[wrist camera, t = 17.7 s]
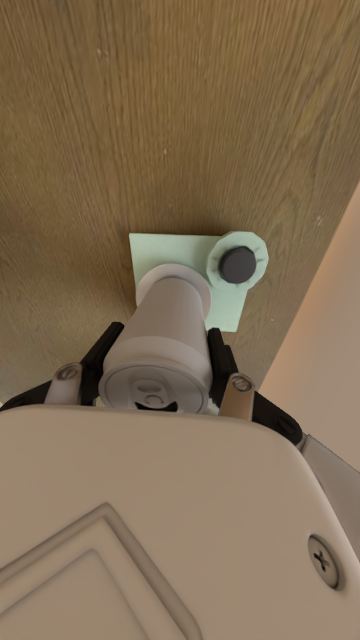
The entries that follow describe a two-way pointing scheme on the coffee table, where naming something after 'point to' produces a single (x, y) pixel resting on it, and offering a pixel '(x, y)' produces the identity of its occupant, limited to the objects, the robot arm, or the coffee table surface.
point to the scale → (203, 266)
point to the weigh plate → (181, 273)
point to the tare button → (238, 266)
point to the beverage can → (161, 354)
